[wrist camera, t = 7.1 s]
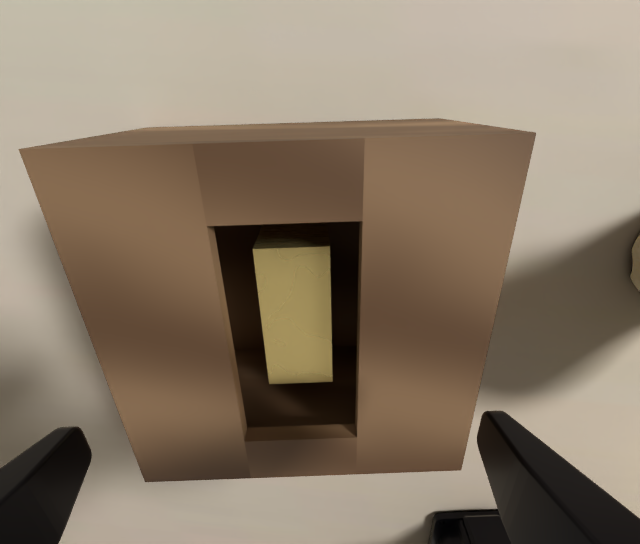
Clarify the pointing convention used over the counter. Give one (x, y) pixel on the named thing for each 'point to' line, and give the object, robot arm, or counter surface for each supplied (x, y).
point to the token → (295, 301)
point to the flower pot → (636, 263)
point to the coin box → (242, 294)
